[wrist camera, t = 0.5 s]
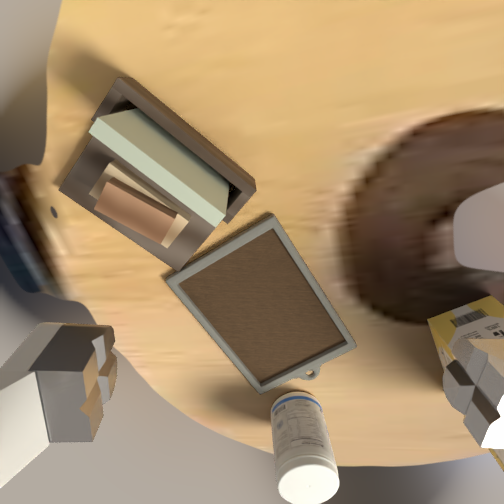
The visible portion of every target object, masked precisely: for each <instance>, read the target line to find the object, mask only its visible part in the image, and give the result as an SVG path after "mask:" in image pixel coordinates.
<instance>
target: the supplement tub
mask: <svg viewBox="0 0 504 504" xmlns="http://www.w3.org/2000/svg"><path fill="white" fill-rule="evenodd" d="M271 426H272V438H273V449H274V461H275V473H276V481H277V486H278V491H279V493H280V495H281V496H282V497H283V498H284V499H285V500H286V501H288V502H290V503H293V504H319V503H322V502H324V501H326V500H328V499H329V498H331V497H332V496H333V495H334V494H335V493H336V491H337V489H338V487H339V478H338V471H337V466H336V462H335V458H334V454H333V450H332V446H331V442H330V438H329V434H328V430H327V426H326V422H325V418H324V414H323V411H322V407H321V404H320V403H319V401H318V400H317V399H316V398H315V397H314V396H312V395H310V394H308V393H305V392H290V393H287V394H284V395H282V396H281V397H279V398H278V399H277V400H276V401H275V402H274V404H273V406H272V408H271Z"/></svg>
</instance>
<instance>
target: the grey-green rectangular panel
mask: <svg viewBox="0 0 504 504" xmlns="http://www.w3.org/2000/svg"><path fill="white" fill-rule="evenodd" d="M89 133H90V134H91V135H93V136H94V137H95V138H97V139H98V140H99V141H101V142H102V143H103V144H105V145H106V146H107V147H109V148H110V149H111V150H113V151H114V152H115V153H117V154H118V155H119V156H121V157H122V158H123V159H125V160H126V161H127V162H129V163H130V164H131V165H133V166H134V167H135V168H137V169H138V170H139V171H141V172H142V173H143V174H145V175H146V176H147V177H149V178H150V179H151V180H153V181H154V182H155V183H157V184H158V185H159V186H161V187H162V188H163V189H165V190H166V191H167V192H169V193H170V194H171V195H173V196H174V197H175V198H177V199H178V200H179V201H181V202H182V203H183V204H185V205H186V206H187V207H189V208H190V209H191V210H193V211H194V212H195V213H197V214H198V215H199V216H201V217H202V218H203V219H205V220H206V221H207V222H209V223H210V224H211V225H213V226H214V227H215V228H216V226H217V225H218V224H219V223H220V222H221V221H222V219H223V218H224V217H225V216H226V209H227V200H228V192H229V183H230V181H228V180H227V179H226V178H225V177H223V176H222V175H221V174H220V173H219V172H217V171H216V170H215V169H214V168H212V167H211V166H210V165H209V164H207V163H206V162H205V161H204V160H202V159H201V158H200V157H199V156H197V155H196V154H195V153H194V152H192V151H191V150H190V149H189V148H187V147H186V146H185V145H184V144H182V143H181V142H180V141H179V140H178V139H176V138H175V137H174V136H173V135H171V134H170V133H169V132H168V131H166V130H165V129H164V128H163V127H161V126H160V125H159V124H158V123H156V122H155V121H154V120H153V119H151V118H150V117H149V116H148V115H146V114H145V113H144V112H143V111H142V110H140V109H139V108H136V109H132V110H127V111H123V112H119V113H114V114H110V115H105V116H101V117H98V118H97V119H96V121H95V122H94V124H93V126H92V127H91V129H90V130H89Z"/></svg>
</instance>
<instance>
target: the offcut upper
mask: <svg viewBox="0 0 504 504" xmlns="http://www.w3.org/2000/svg"><path fill="white" fill-rule="evenodd" d="M94 210H96V211H98V212H100V213H102V214H104V215H106V216H108V217H110V218H112V219H113V220H115V221H117V222H119V223H121V224H123V225H125V226H127V227H129V228H130V229H132V230H134V231H136V232H138V233H140V234H142V235H144V236H146V237H148V238H149V239H151V240H153V241H155V242H157V243H159V244H161V243H162V241H163V239H164V238H165V236H166V234H167V232H168V230H169V229H170V227H171V225H172V223H173V222H174V220H175V218H176V216H177V214H178V212H176V211H174V210H172V209H170V208H169V207H167V206H165V205H163V204H161V203H160V202H158V201H156V200H154V199H152V198H151V197H149V196H147V195H145V194H143V193H142V192H140V191H138V190H136V189H134V188H133V187H131V186H129V185H127V184H125V183H124V182H122V181H120V180H118V179H116V178H115V177H113V178H111V179H110V180H108V181H107V182H106V184H105V187H104V189H103V191H102V193H101V195H100V197H99V199H98V201H97V204H96V206H95V208H94Z"/></svg>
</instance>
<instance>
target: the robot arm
mask: <svg viewBox="0 0 504 504" xmlns="http://www.w3.org/2000/svg"><path fill="white" fill-rule="evenodd" d="M114 342H115V337H114V329H113V328H112V327H111V326H109V325H90V324H89V325H88V324H72V323H66V324H65V323H48V322H47V323H46V322H44V323H41V324H38V325H37V326H36V327H35V328H34V330H33V331H32V332H31V333H30V334H29V336H28V337H27V338H26V339H25V340H24V341H23V342H22V344H21V345H20V346H19V347H18V348H17V349H16V351H15V352H14V353H13V354H12V355H11V356H10V358H9V359H8V360H7V361H6V362H5V363H4V364H3V366H2V367H1V368H0V488H1V487H2V486H3V485H5V484H6V483H7V482H8V481H9V480H10V479H11V478H12V477H14V476H15V475H16V474H17V473H18V472H19V471H20V470H22V469H23V468H24V467H25V466H26V465H27V464H28V463H30V462H31V461H32V460H33V459H34V458H35V457H36V456H37V455H39V454H40V453H41V452H42V451H43V450H44V449H45V448H46V447H47V446H49V442H93V440H94V437H95V435H96V432H97V430H98V428H99V425H100V423H101V420H102V418H103V406H102V405H103V404H105V403H106V402H107V401H109V400H110V398H111V396H112V393H113V391H114V387H115V382H116V377H117V358H116V356H115V355H114V354H113V353H112V352H111V349H112V347H113V345H114ZM451 353H452V355H453V357H454V360H453V361H452V362H451V363H450V364H448V365H447V366H446V368H445V371H444V374H443V390H444V392H445V395H446V398H447V399H448V401H449V402H450V404H451V405H452V407H453V408H455V409H456V410H458V411H459V412H461V413H462V414H464V419H463V423H464V424H465V426H466V427H467V429H468V430H469V432H470V433H471V435H472V436H473V437H474V439H475V440H476V442H477V443H478V445H479V446H480V447H481V448H503V449H504V338H500V339H481V338H458V340H457V341H456V342H455V343H454V345H453V347H452V350H451Z"/></svg>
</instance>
